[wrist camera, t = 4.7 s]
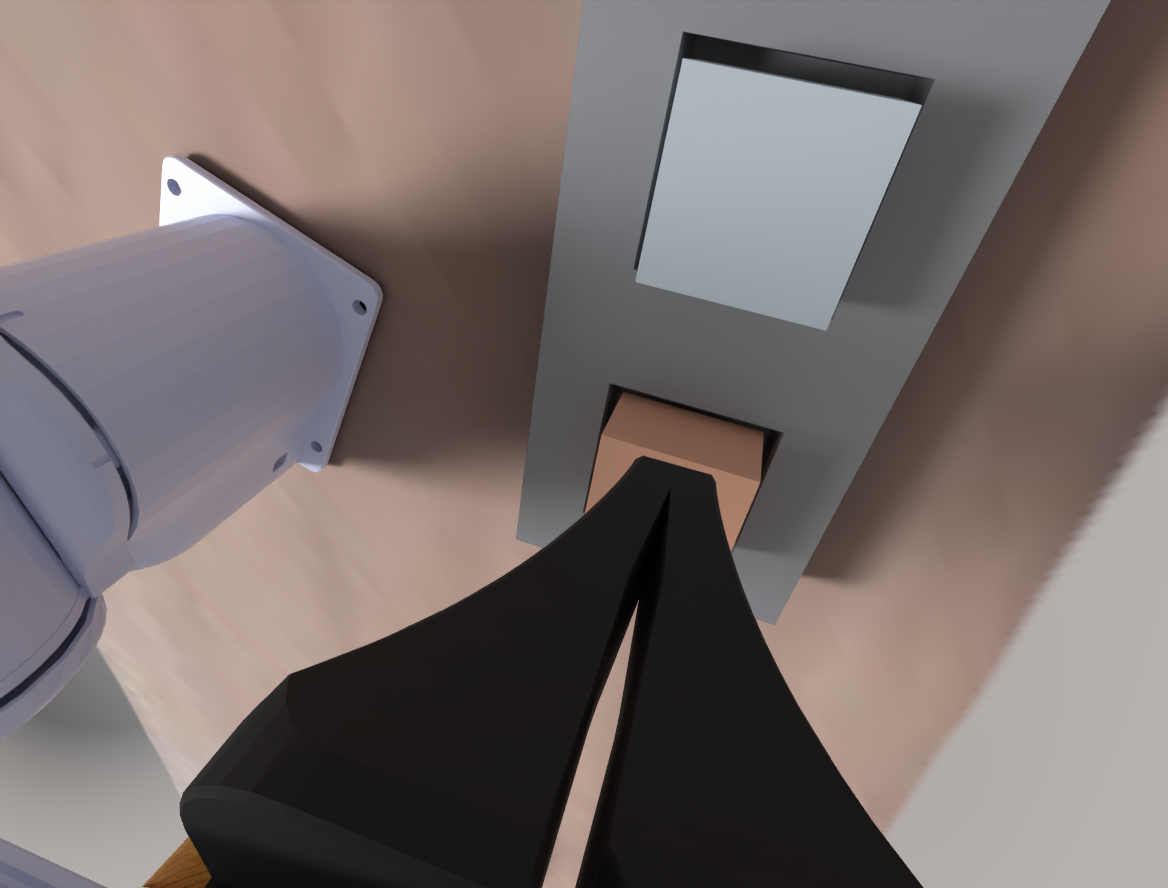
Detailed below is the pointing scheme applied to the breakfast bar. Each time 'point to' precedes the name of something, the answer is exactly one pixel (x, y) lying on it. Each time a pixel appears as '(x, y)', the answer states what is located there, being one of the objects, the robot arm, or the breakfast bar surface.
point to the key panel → (751, 340)
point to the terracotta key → (682, 452)
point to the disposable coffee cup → (181, 870)
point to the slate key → (769, 189)
